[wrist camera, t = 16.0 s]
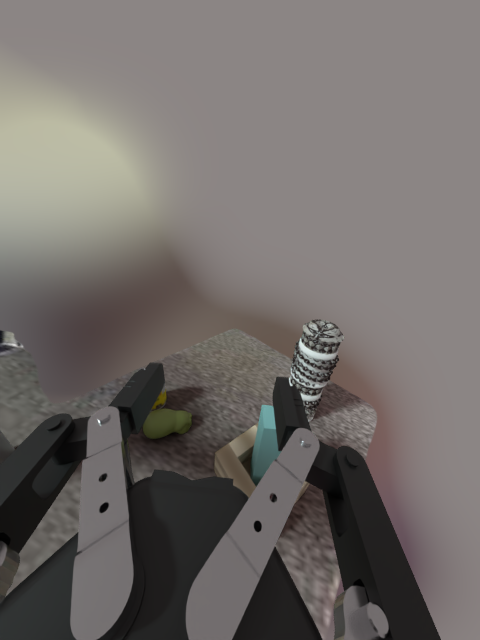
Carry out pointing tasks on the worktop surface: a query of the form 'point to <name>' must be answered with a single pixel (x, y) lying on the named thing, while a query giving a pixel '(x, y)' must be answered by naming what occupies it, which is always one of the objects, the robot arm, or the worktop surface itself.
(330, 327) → the decorative candle
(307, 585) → the worktop surface
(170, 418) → the pear
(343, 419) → the worktop surface
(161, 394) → the supplement bottle
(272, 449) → the peg
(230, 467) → the socket block
